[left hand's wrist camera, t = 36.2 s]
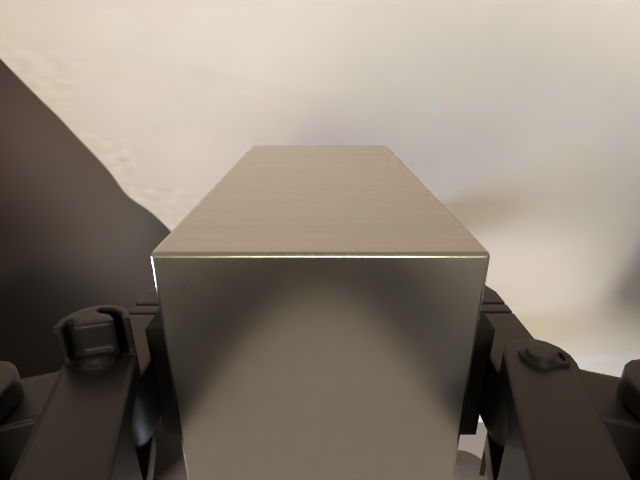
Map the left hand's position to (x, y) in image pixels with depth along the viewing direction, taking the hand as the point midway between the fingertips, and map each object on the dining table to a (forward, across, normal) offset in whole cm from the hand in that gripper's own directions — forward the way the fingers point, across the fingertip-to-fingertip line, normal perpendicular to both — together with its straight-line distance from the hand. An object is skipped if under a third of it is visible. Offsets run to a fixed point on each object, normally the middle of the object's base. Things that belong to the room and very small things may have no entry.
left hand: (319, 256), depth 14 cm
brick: (+3, 0, 0) cm, 3 cm away
